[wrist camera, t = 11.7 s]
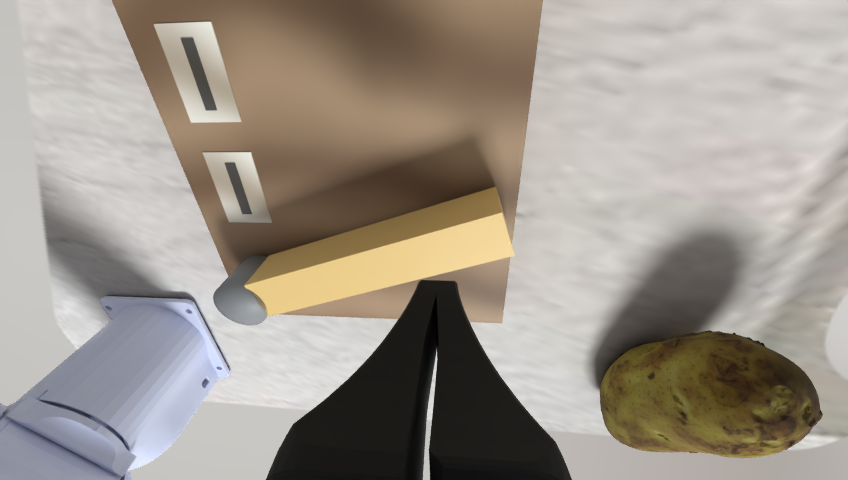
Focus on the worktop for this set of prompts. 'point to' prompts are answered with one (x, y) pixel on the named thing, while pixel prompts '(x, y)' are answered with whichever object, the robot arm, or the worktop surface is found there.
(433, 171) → the label board
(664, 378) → the potato
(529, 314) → the worktop surface
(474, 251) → the swing bar
